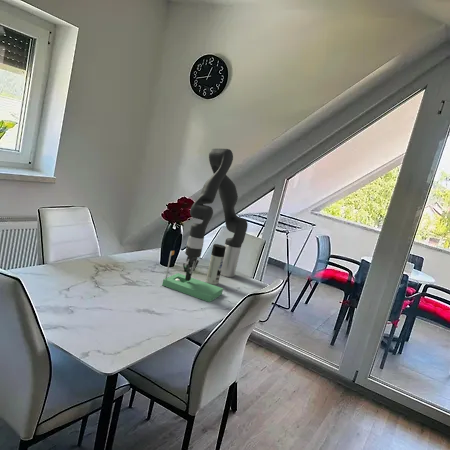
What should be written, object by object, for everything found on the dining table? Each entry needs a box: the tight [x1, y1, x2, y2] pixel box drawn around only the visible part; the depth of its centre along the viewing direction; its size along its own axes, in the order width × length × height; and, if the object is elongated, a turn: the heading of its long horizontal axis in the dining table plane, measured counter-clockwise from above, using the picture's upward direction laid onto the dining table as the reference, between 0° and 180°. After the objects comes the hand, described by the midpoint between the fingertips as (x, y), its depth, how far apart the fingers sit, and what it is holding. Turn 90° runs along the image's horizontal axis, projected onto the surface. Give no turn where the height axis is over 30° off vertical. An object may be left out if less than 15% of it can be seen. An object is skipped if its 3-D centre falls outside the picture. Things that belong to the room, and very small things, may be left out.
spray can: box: [205, 243, 226, 286], centre depth 219 cm, size 7×7×20 cm
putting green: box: [161, 250, 224, 303], centre depth 202 cm, size 15×25×17 cm, turn 69°
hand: (187, 280), depth 204 cm, fingers closed
